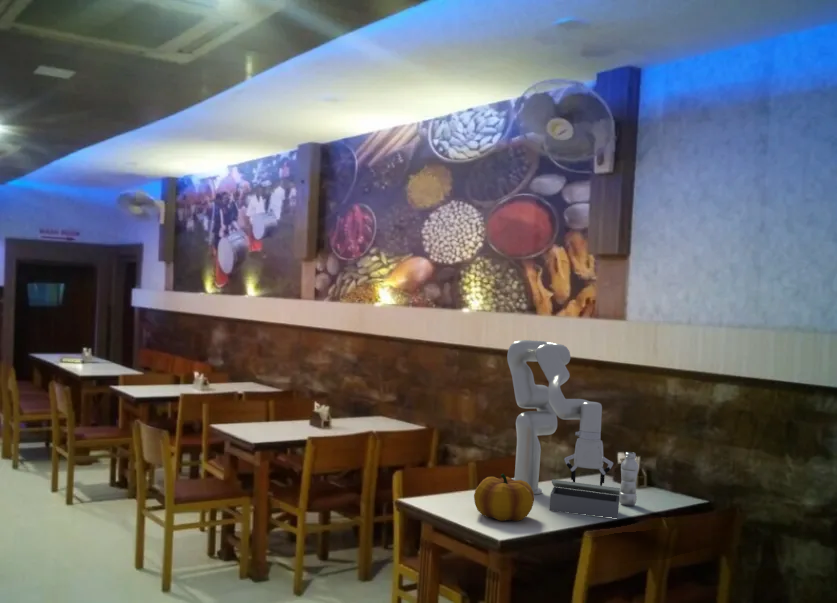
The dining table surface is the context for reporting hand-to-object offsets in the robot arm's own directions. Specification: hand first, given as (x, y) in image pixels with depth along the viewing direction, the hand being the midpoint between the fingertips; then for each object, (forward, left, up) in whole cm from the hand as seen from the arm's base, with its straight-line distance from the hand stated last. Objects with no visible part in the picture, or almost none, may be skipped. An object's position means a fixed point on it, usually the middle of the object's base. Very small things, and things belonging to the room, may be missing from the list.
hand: (587, 483), depth 280 cm
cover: (-1, +3, -3) cm, 4 cm away
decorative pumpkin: (-27, -21, -11) cm, 36 cm away
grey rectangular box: (-1, +3, -11) cm, 11 cm away
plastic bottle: (+14, +22, -11) cm, 28 cm away
